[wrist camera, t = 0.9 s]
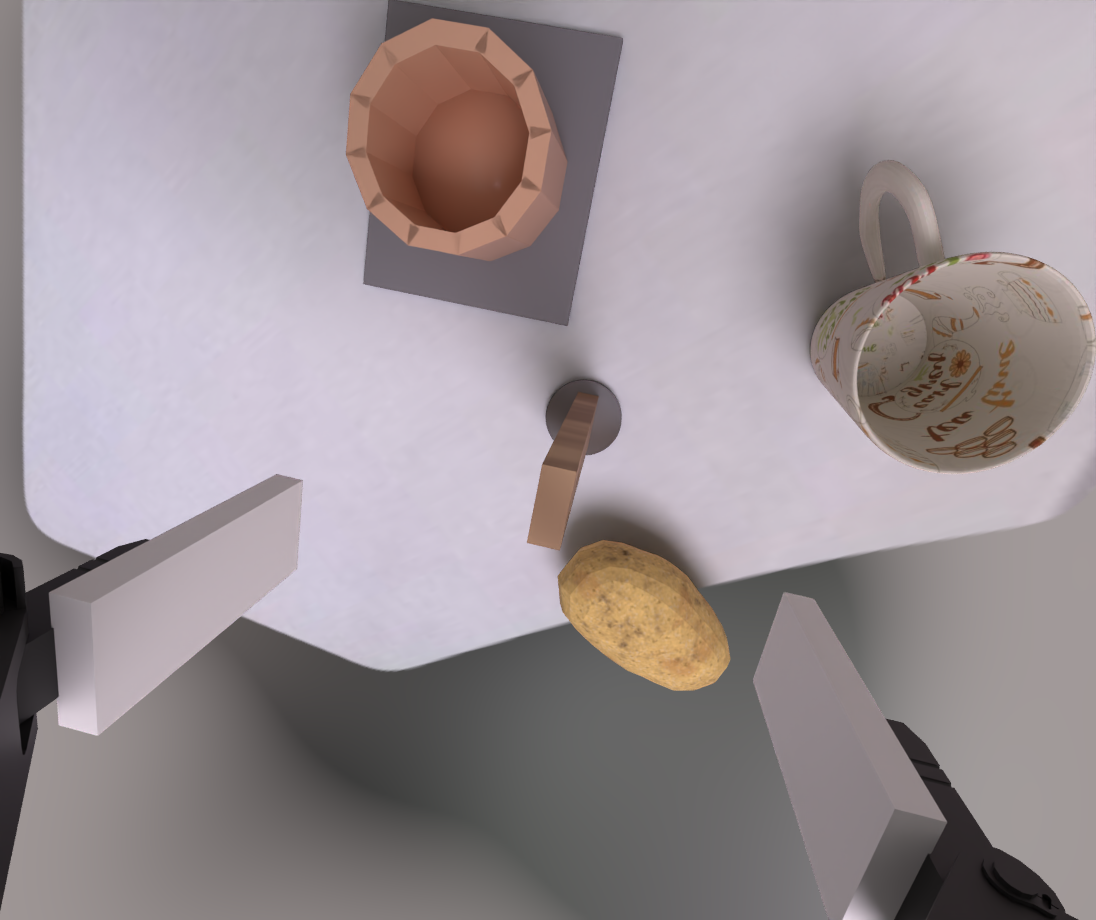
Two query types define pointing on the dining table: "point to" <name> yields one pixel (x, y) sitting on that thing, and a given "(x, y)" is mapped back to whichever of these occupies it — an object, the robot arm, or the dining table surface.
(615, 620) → the potato
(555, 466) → the long wooden stick
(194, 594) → the robot arm
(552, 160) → the jar
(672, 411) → the dining table surface
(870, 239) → the mug
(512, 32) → the mat
